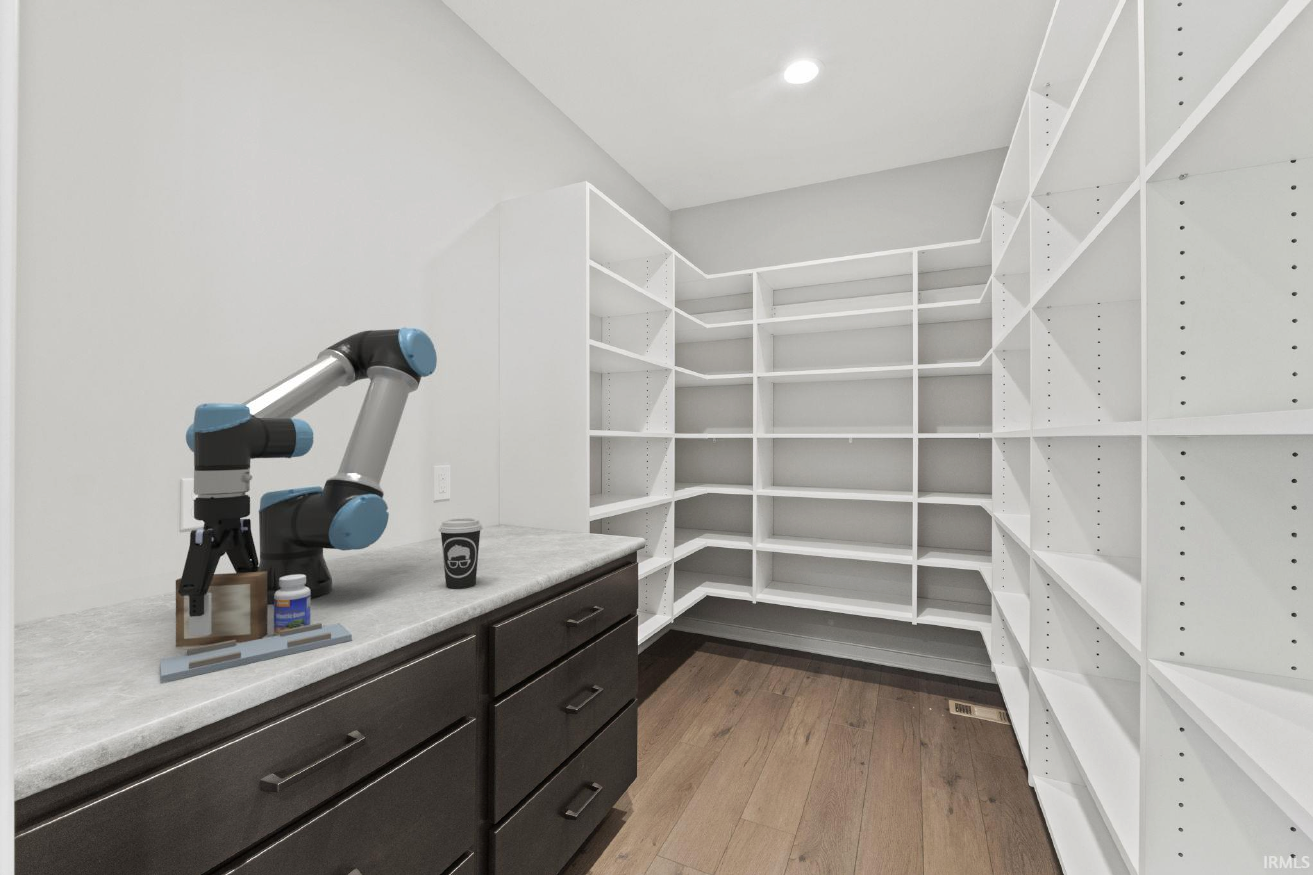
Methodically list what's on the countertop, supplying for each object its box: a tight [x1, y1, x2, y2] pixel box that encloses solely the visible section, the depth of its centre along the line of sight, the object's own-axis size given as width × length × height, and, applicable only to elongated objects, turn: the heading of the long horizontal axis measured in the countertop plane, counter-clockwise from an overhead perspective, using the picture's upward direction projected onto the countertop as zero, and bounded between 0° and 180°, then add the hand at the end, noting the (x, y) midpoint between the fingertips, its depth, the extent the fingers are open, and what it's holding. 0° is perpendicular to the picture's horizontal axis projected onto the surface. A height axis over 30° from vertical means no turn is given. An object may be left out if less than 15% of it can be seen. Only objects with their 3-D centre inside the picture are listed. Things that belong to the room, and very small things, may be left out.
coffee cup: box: [438, 517, 483, 590], centre depth 129 cm, size 10×10×15 cm
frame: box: [175, 572, 268, 648], centre depth 94 cm, size 12×3×11 cm, turn 102°
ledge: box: [159, 622, 353, 684], centre depth 89 cm, size 8×24×2 cm, turn 132°
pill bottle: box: [273, 574, 312, 636], centre depth 98 cm, size 5×5×10 cm
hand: (222, 622), depth 94 cm, fingers open, 12 cm apart
